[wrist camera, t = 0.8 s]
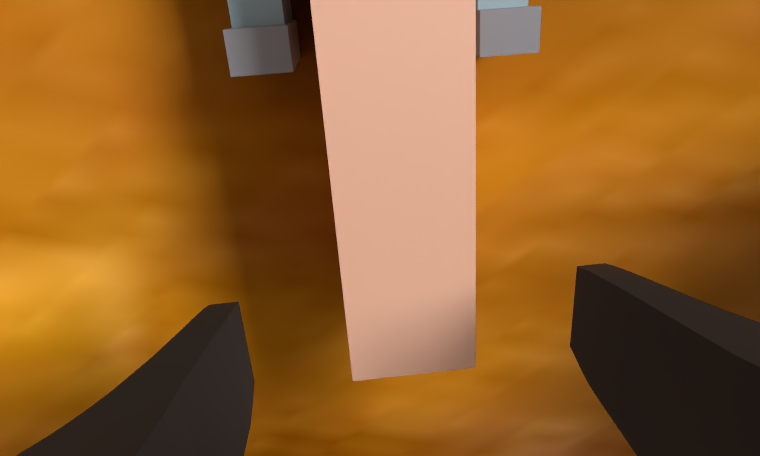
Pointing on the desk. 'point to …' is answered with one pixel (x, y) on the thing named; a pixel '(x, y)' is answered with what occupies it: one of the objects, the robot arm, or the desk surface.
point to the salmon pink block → (402, 178)
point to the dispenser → (282, 50)
